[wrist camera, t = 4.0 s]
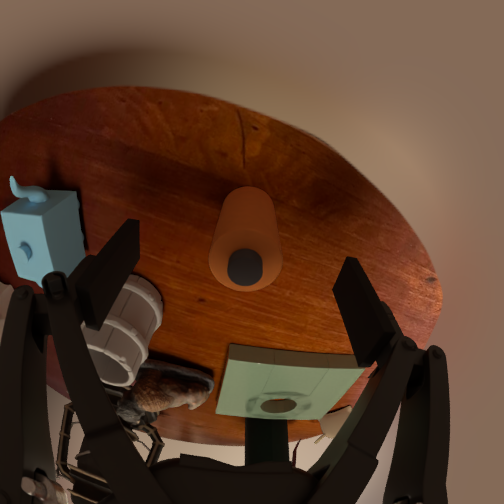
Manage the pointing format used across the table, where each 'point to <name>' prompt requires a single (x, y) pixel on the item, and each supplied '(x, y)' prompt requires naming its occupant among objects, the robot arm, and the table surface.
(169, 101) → the table surface
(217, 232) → the orange cylinder
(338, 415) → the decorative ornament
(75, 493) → the lantern
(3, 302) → the cup
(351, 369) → the green peg socket base
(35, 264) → the teapot
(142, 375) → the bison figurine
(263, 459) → the wine bottle
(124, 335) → the mug
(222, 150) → the table surface
